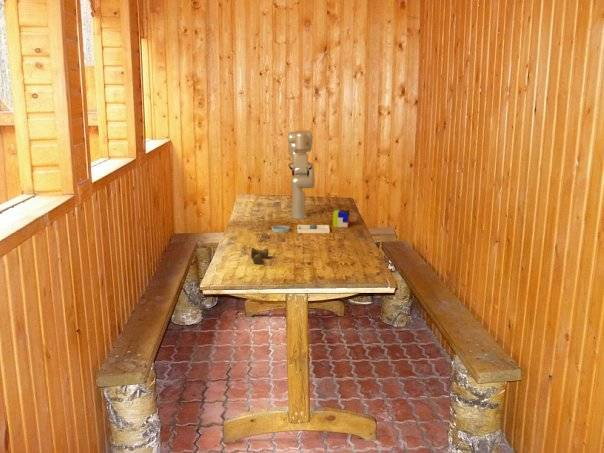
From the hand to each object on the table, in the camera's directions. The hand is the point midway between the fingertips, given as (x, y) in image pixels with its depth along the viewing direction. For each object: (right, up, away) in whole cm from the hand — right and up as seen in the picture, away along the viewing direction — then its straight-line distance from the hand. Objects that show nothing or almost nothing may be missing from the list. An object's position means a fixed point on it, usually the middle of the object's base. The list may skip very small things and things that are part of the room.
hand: (300, 176), depth 406 cm
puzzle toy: (+29, -34, +9) cm, 45 cm away
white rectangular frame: (+9, -37, -8) cm, 39 cm away
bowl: (-13, -37, -8) cm, 40 cm away
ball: (+9, -37, -8) cm, 39 cm away
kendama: (-23, -53, -76) cm, 96 cm away
